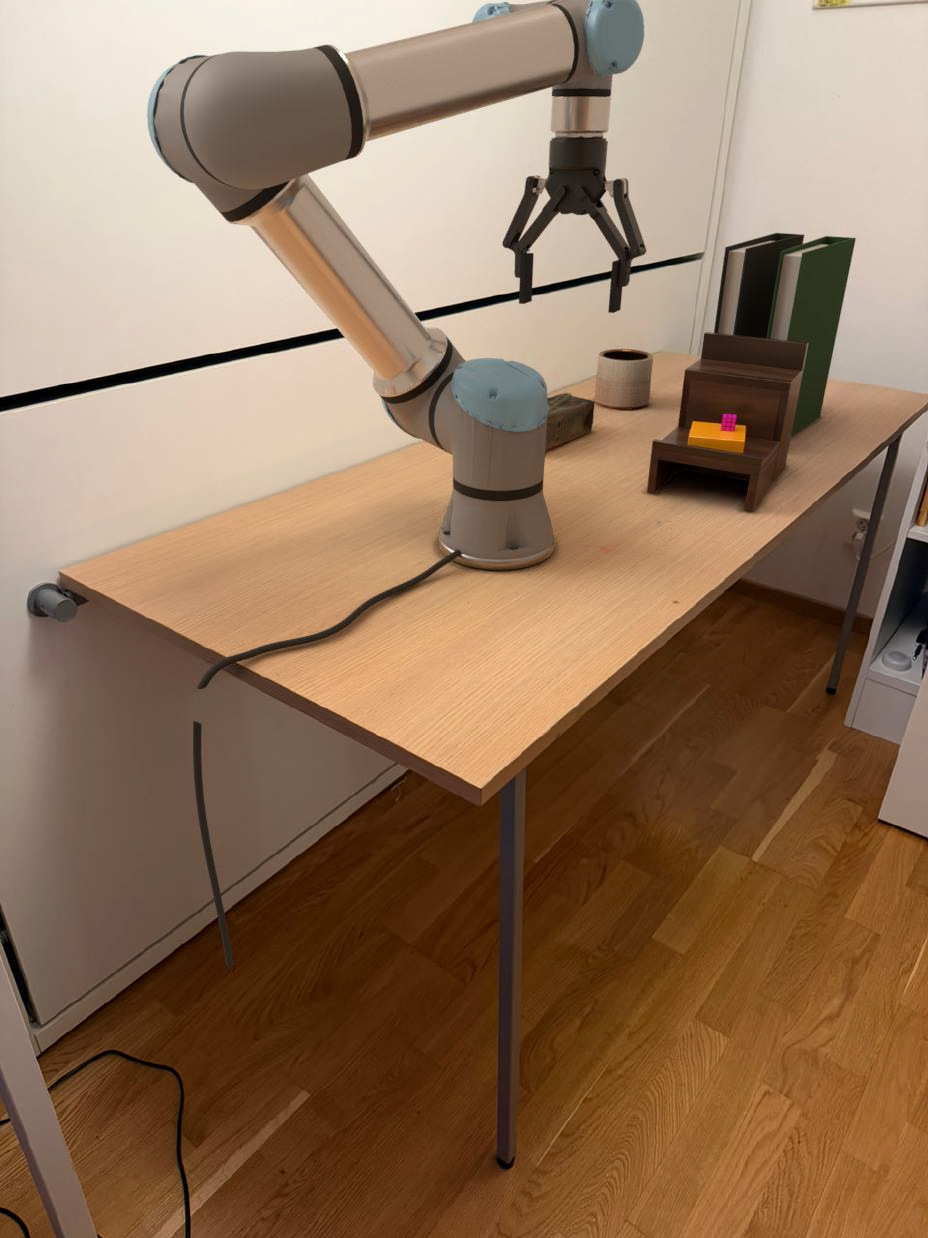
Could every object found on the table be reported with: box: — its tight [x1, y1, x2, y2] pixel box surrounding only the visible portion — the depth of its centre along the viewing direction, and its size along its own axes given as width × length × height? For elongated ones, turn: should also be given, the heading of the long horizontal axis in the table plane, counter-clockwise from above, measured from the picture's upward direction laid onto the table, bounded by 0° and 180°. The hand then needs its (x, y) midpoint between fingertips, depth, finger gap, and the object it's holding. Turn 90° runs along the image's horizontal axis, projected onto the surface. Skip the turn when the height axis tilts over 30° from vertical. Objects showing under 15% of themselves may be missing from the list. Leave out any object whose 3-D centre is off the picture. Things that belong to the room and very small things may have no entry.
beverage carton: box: [545, 392, 596, 451], centre depth 157 cm, size 8×19×7 cm, turn 140°
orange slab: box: [688, 414, 746, 453], centre depth 134 cm, size 8×8×4 cm
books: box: [713, 232, 856, 438], centre depth 159 cm, size 27×15×32 cm, turn 145°
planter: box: [594, 348, 654, 410], centre depth 178 cm, size 11×11×10 cm
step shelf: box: [646, 331, 808, 513], centre depth 137 cm, size 23×16×20 cm
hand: (568, 306), depth 126 cm, fingers open, 13 cm apart
